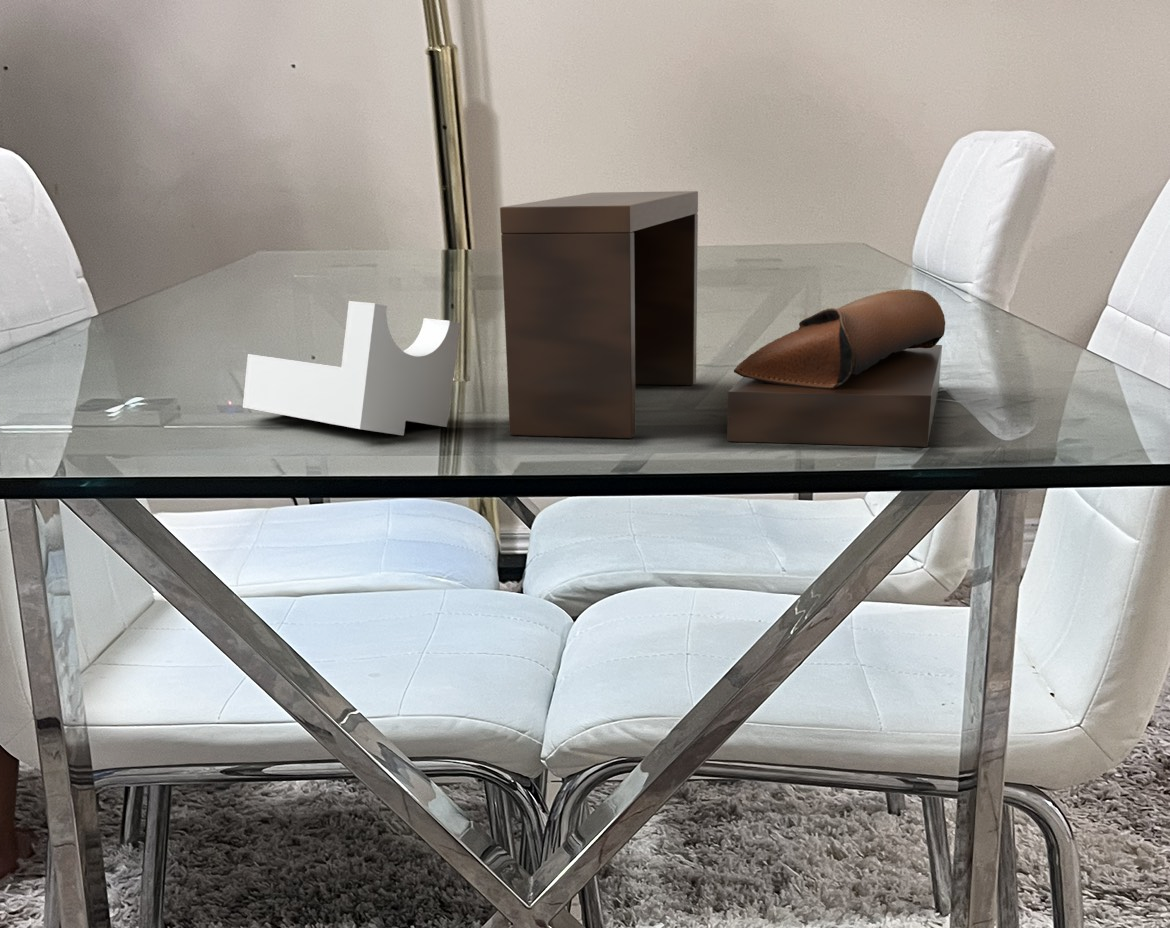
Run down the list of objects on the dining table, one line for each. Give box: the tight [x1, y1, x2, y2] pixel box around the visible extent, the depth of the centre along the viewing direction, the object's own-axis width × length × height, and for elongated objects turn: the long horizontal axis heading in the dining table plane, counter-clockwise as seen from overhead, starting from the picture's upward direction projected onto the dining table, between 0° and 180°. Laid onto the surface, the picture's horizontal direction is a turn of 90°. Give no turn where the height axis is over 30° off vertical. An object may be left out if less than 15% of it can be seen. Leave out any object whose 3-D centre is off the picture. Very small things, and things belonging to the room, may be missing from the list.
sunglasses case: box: [733, 288, 946, 389], centre depth 92 cm, size 18×7×7 cm, turn 150°
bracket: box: [242, 300, 462, 436], centre depth 93 cm, size 13×7×8 cm, turn 46°
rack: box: [499, 190, 943, 448], centre depth 93 cm, size 26×22×14 cm
